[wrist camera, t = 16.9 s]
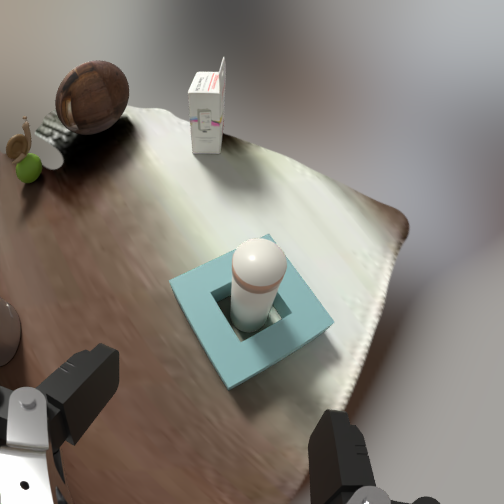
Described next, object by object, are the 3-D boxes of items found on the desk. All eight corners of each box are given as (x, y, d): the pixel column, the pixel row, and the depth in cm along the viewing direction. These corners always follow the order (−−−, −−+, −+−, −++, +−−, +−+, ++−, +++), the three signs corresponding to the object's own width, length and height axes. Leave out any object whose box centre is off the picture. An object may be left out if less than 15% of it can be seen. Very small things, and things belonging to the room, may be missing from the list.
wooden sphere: (111, 103, 54) (101, 47, 42) (148, 119, 50) (139, 52, 38) (57, 136, 47) (37, 78, 35) (86, 160, 43) (62, 89, 31)
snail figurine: (54, 167, 42) (32, 116, 32) (32, 192, 39) (5, 141, 29) (39, 162, 43) (18, 114, 33) (18, 185, 39) (-7, 138, 29)
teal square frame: (228, 390, 27) (228, 387, 24) (173, 294, 32) (168, 280, 29) (324, 331, 31) (334, 322, 28) (265, 250, 36) (268, 233, 33)
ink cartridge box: (197, 126, 50) (195, 55, 37) (224, 127, 50) (227, 55, 37) (190, 154, 45) (186, 74, 33) (220, 155, 45) (223, 74, 33)
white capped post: (242, 339, 30) (250, 295, 20) (223, 308, 32) (222, 251, 22) (274, 321, 31) (298, 269, 21) (254, 292, 33) (267, 230, 23)
